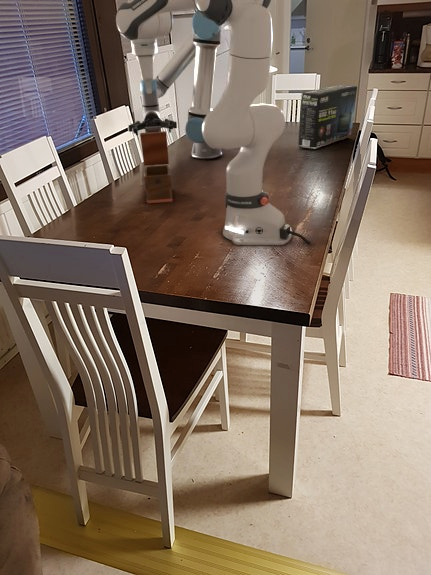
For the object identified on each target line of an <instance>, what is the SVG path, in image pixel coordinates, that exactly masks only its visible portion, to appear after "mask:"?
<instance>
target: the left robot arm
mask: <svg viewBox="0 0 431 575" xmlns="http://www.w3.org/2000/svg"><path fill="white" fill-rule="evenodd" d="M225 27H226V22H225V23H224V24H222V25H221V26H219V25H217V24H215V23H214V22H213V21H212V20H210V19H207V18H205V17H203V16H202V15H201V14H200V13H199V12H198V10H197V9H196V11H195V12H194V14H193V15H192V18H191V30H192V33H191V34H190V35H189V36H188V38H187V39H186V40H185V41H184V42H183V44H182V45H181V46H180V47H179V48H178V50H177V51H176V52H175V53H174V54H173V56H172V57H171V58H170V60H169V61H168V62H167V63H166V64H165V66H163V68H162V69H161V71H159V73H158V74H157V76H155V77H154V78H153V80H151V89H152V93H151V94H147V91H146V85H145V81H143V79H141V80H140V81H139V90H140V91H139V92H140V97H141V105H142V113H143V114H142V115H143V121H140V120H136V121H135V122H133V123H131V124H128V125H127V127H128V132H129V133H131V132H132V133H133V134H134V135H135V136H138V135H139V131H142V130H145V127H154V126H161V129H163V128H164V129H168V130H167V131H168V133H169V134H170V133H171V134H172V130H174V129H178V124H177V123H178V122H177V121H174V120H171V119H169V118H164V119H163V120H162V119H161V111H160V104H159V102H160V101H159V99H160V98H162V97H164V96H165V95H166V93H167V92H168V90H169V89H170V87H171V86H172V85H173V84H174V83H175V82H176V81H177V79H178V78H179V77H180V76H181V75H182V73H183V72H184V71H185V70H186V69H187V68H188V66H190V64H191V63H192V62H193V61H194V60H195V61H194V69H193V70H194V72H193V86H192V100H191V107H189V108H188V109H187V122H186V123H185V126H184V133H185V136H186V137H187V138H188V140H189V141H191V142H193V144H192V149H191V158H193V159H195V160H200V161H202V160H204V161H207V160H208V161H209V160H215V159H216V160H217V159H219V158H221V157H222V156H223V151H222V149H213V148H211V147H209V146H208V145H207V143H206V142H205V140H204V138H203V135H202V124H203V121H204V119H205V117H206V115H208V114H209V113H210V112H211V111H212V110H213V109H214V108H215V107H212V102H213V101H212V100H213V99H212V98H213V88H214V79H215V78H214V77H215V66H216V58H217V57H216V56H217V49H218V48H219V47H220V46H221V40H222V33H223V32H224V30H225Z"/></svg>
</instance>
